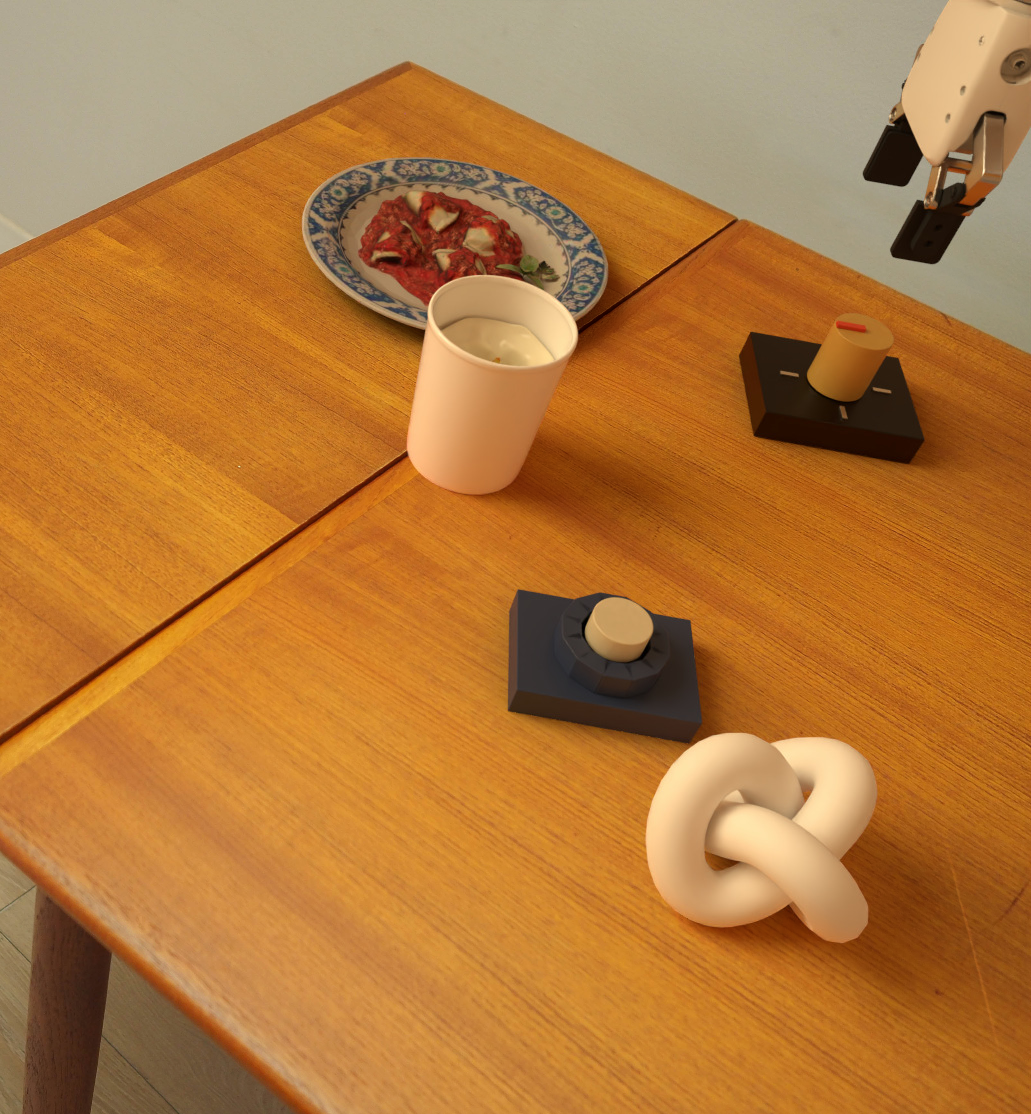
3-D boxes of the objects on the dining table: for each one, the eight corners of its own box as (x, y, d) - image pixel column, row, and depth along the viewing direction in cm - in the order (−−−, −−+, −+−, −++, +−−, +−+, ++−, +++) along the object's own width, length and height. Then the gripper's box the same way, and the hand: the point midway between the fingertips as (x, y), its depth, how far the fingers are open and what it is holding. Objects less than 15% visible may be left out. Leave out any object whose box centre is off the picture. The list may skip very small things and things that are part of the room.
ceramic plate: (237, 262, 103) (240, 230, 100) (400, 147, 118) (406, 117, 116) (512, 404, 95) (522, 374, 92) (648, 261, 110) (660, 232, 108)
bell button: (642, 621, 76) (651, 602, 75) (645, 667, 74) (655, 649, 73) (583, 610, 76) (592, 592, 75) (585, 656, 74) (594, 638, 73)
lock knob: (858, 370, 98) (890, 315, 95) (868, 406, 95) (901, 351, 92) (802, 360, 98) (832, 304, 95) (811, 396, 95) (842, 340, 92)
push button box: (678, 641, 80) (701, 601, 78) (689, 744, 75) (714, 705, 72) (509, 611, 80) (524, 569, 78) (507, 711, 75) (524, 671, 72)
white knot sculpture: (642, 973, 65) (705, 889, 58) (602, 774, 73) (654, 680, 66) (852, 984, 66) (938, 903, 59) (790, 786, 74) (859, 695, 67)
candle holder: (465, 524, 85) (509, 388, 76) (366, 442, 90) (397, 304, 81) (558, 468, 90) (609, 334, 82) (460, 392, 95) (498, 257, 86)
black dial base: (884, 381, 102) (899, 355, 100) (909, 464, 95) (926, 438, 93) (738, 355, 102) (751, 329, 100) (753, 436, 95) (767, 409, 93)
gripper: (1147, 42, 68) (982, 302, 81) (1055, -79, 80) (923, 164, 92) (1010, 18, 68) (866, 281, 81) (938, -99, 80) (822, 146, 92)
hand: (897, 218), depth 87 cm, fingers open, 9 cm apart
